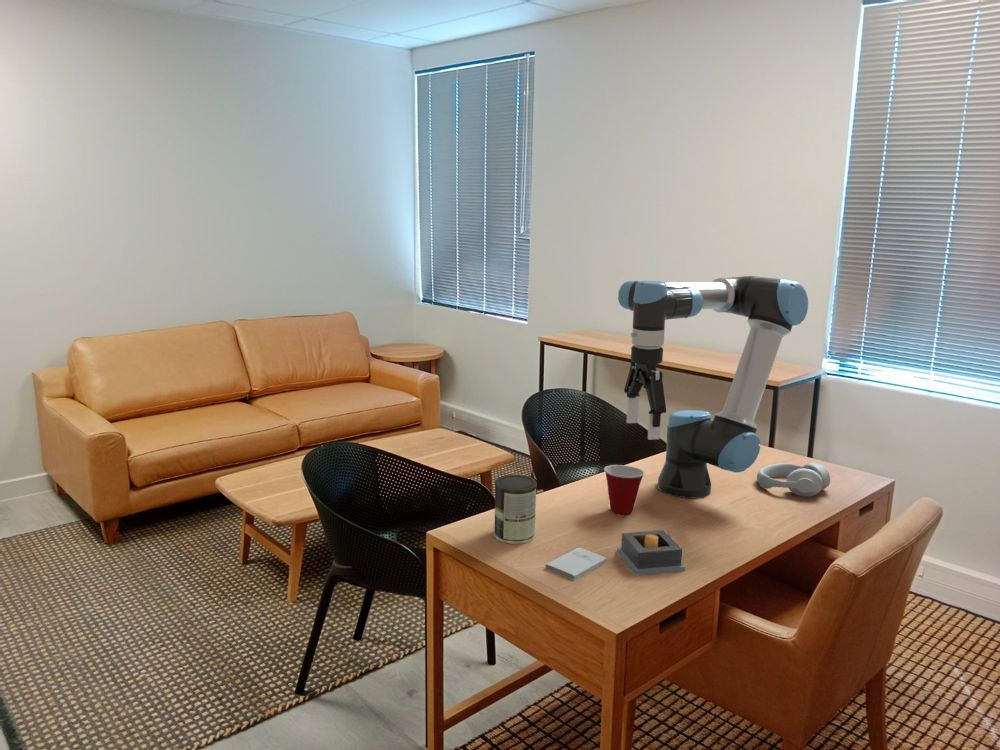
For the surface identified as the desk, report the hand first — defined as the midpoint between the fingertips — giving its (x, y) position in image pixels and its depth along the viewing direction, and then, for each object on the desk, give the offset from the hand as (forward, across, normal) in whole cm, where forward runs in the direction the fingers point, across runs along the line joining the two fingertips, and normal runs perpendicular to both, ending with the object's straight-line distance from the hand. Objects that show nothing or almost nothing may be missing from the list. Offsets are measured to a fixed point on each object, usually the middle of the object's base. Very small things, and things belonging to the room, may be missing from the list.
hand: (642, 430), depth 192 cm
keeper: (+26, +17, -4) cm, 31 cm away
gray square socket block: (+25, +17, -3) cm, 31 cm away
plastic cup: (+27, -12, +1) cm, 29 cm away
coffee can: (+26, -2, -31) cm, 41 cm away
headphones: (+27, -21, +57) cm, 67 cm away
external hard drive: (+27, +16, -21) cm, 38 cm away
